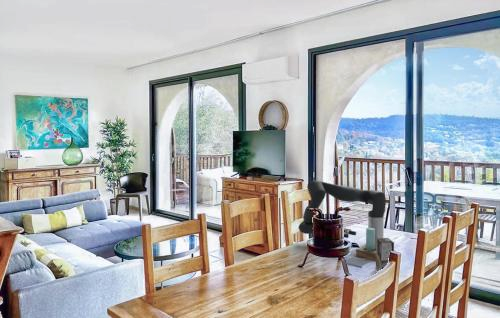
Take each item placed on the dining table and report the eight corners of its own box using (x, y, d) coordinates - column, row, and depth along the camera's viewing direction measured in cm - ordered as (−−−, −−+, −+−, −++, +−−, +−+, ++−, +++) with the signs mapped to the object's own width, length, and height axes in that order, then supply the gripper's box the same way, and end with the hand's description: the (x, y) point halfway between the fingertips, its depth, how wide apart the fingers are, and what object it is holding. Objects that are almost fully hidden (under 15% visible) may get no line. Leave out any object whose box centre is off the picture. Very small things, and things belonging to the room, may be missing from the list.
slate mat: (352, 258, 220) (352, 257, 220) (371, 262, 213) (371, 261, 212) (342, 262, 212) (342, 261, 212) (361, 267, 205) (361, 266, 205)
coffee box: (394, 275, 194) (394, 242, 193) (380, 275, 194) (381, 242, 193) (387, 268, 203) (388, 237, 202) (375, 268, 203) (375, 237, 202)
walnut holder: (364, 250, 234) (364, 243, 234) (390, 256, 223) (390, 249, 223) (350, 256, 223) (350, 249, 223) (376, 263, 212) (377, 255, 212)
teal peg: (368, 253, 226) (368, 227, 225) (376, 255, 223) (376, 228, 222) (364, 255, 223) (364, 229, 222) (372, 257, 220) (372, 230, 219)
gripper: (334, 234, 247) (358, 239, 236) (321, 238, 237) (345, 243, 225) (334, 222, 246) (358, 226, 235) (321, 225, 236) (345, 230, 225)
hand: (352, 234), depth 230 cm, fingers open, 8 cm apart
